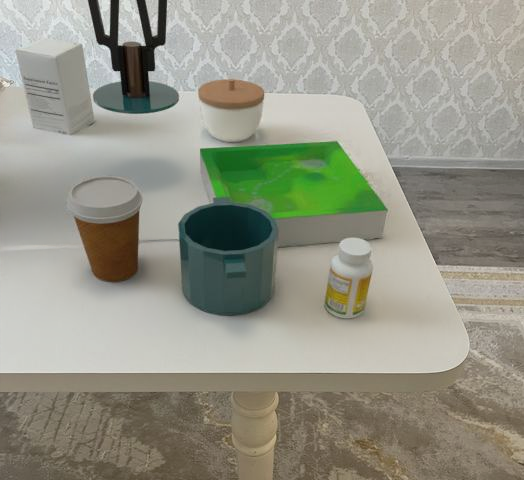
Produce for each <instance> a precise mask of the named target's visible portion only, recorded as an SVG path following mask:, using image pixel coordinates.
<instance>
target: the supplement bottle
mask: <svg viewBox="0 0 524 480" xmlns="http://www.w3.org/2000/svg"><path fill="white" fill-rule="evenodd" d="M371 254H372V245H371V243H369V242H368V241H367V240H363V239H360V238H346V239H344V240H342V241H341V242H339V245H338V249H337V254H335V255H334V256H333V257H332V259H331V260H330V264H329V265H330V266H329V273H328V279H327V286H326V292H325V299H324V306H325V308H326V310H327V312H329V314H331V315H332V316H334V317H336V318H340V319H353V318H357V317H359V316H360V315H362V313H363V312H364V310H365V307H366V303H367V299H368V293H369V290H370V289H369V288H370V285H371V280H372V275H373V269H374V263H373V261H372V260H371Z"/></svg>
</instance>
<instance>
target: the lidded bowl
mask: <svg viewBox="0 0 524 480" xmlns="http://www.w3.org/2000/svg"><path fill="white" fill-rule="evenodd" d="M197 96H198V103H199V104H198V105H199V113H200V119H201V121H202V124H203V126H204V128H205V129H206V131H207V132H208V133H209V135H210V136H212V137H213V138H214V139H216V140H217V141H220V142H226V143H239V142H244V141H246V140H248V139H250V137H252V135H254V133H255V132H256V131H257V129H258V128H259V126H260V123H261V120H262V116H263V112H264V111H263V109H264V100H265V90H264V88H262V87H261V86H260V85H259V84H256V83H253V82H251V81H247V80H243V79H241V80H240V79H234V78H227V79H225V78H224V79H217V80H216V79H215V80H210V81H207V82H205V83H203V84H201V85H200V86H199V88H198V90H197Z"/></svg>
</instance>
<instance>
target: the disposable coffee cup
mask: <svg viewBox="0 0 524 480" xmlns="http://www.w3.org/2000/svg"><path fill="white" fill-rule="evenodd" d="M142 203H143V195H142V194H141V192H140V191H139V188H138V187H137V185H136V183H135V182H133V181H132V180H130V179H128V178H126V177H121V176H116V175H97V176H92V177H87V178H84V179H82V180H79V181H78V182H76V183H75V184H74V185H72V186H71V188H70V189H69V191H68V197H67V199H66V206H67V209H68V211H70V213H71V215H72V216H73V219H74V222H75V225H76V227H77V230H78V233H79V236H80V240H81V242H82V245H83V248H84V251H85V254H86V256H87V260H88V262H89V266H90V268H91V272H92V274H93V276H94V277H95V278H97V279H98V280H99V281H103V282H110V283H111V282H112V283H113V282H114V283H115V282H122V281H125V280H127V279H131V277H133V276H134V275H135V274H137V272H138V270H139V245H140V244H139V241H140V240H139V239H140V238H139V237H140V236H139V235H140V209H141V207H142Z"/></svg>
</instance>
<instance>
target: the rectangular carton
mask: <svg viewBox="0 0 524 480" xmlns="http://www.w3.org/2000/svg"><path fill="white" fill-rule="evenodd" d="M15 55H16V60H17V63H18V69H19V72H20V78H21V81H22V85H23V89H24V94H25V99H26V103H27V107H28V110H29V116H30V120H31V124H32V125H31V126H32V128H33V129H35V130H36V129H37V130H41V131H45V132H51V133H56V134H61V135H66V136H72V135H74V134H76V133H77V132H79V131H80V130H83V128H84V127H87V126H91V124H93V123H95V114H94V108H93V102H92V95H91V91H90V90H91V89H90V83H89V78H88V71H87V66H86V59H85V54H84V47H83V43H81V42H73V41H68V40H67V41H66V40H61V39H55V38H50V37H42V38H40V39H37V40H35V41H33V42H30V43H28V44H26V45H24V46H22V47H19V48H17V49H15Z"/></svg>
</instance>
